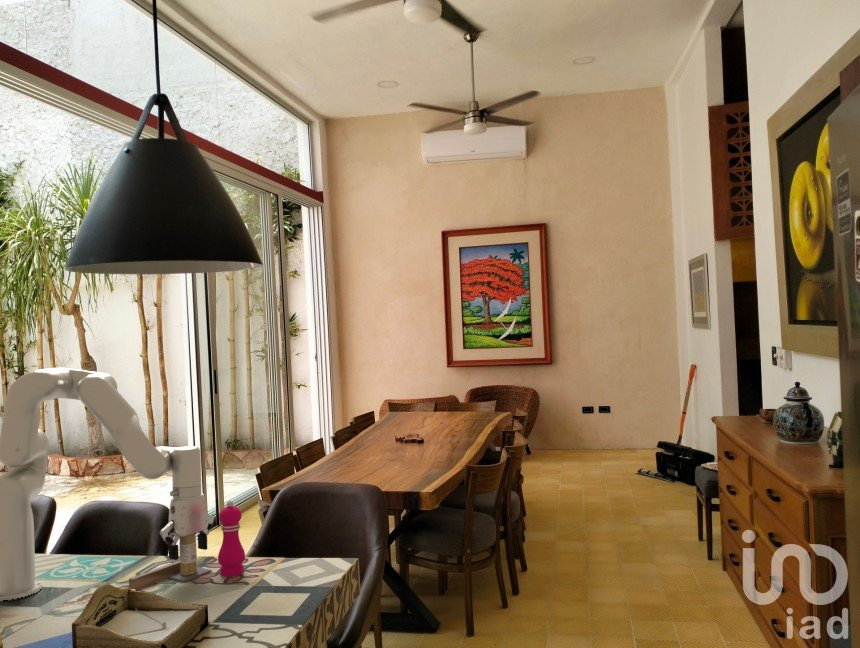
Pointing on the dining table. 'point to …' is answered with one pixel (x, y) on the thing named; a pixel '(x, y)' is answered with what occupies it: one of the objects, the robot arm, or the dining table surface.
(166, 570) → the guide rail
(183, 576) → the end pad
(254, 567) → the dining table surface
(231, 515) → the pepper mill
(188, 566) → the sprinkles bottle
